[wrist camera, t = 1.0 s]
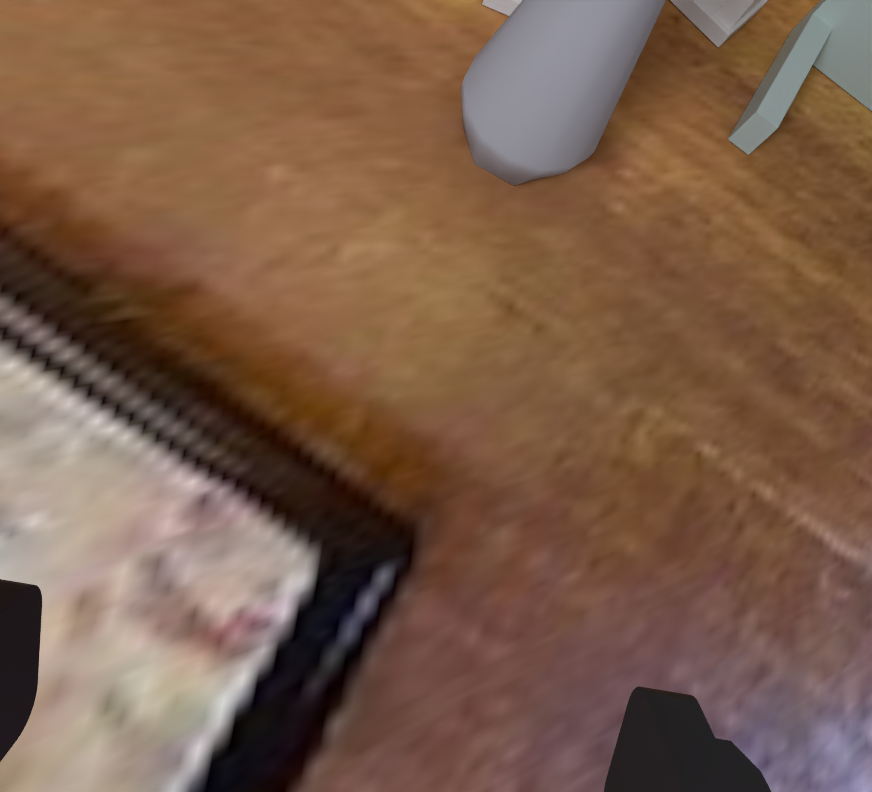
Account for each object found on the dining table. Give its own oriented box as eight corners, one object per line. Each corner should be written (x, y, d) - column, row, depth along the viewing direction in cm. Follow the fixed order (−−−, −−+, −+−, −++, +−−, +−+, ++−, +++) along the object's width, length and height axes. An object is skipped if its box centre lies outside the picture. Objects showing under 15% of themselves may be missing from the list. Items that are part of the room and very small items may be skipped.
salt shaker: (580, 112, 35) (785, -171, 24) (567, 221, 33) (785, -30, 21) (454, 65, 34) (605, -259, 22) (432, 176, 32) (585, -118, 20)
